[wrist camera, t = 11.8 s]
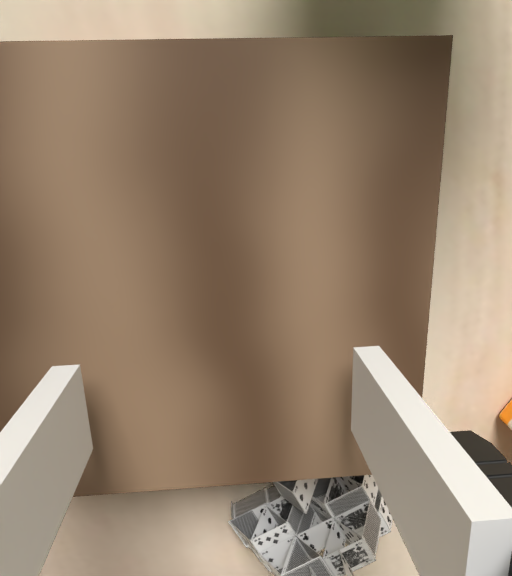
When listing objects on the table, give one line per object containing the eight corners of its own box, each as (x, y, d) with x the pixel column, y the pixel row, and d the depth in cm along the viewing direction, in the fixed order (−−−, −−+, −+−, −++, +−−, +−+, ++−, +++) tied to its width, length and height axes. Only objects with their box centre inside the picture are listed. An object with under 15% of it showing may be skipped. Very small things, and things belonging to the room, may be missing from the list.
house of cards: (352, 328, 20) (427, 429, 13) (425, 473, 23) (524, 628, 15) (172, 421, 21) (146, 568, 13) (263, 552, 23) (282, 737, 16)
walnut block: (61, 419, 20) (12, 501, 16) (3, 74, 16) (-86, 42, 12) (372, 399, 21) (415, 471, 17) (388, 66, 17) (452, 35, 13)
